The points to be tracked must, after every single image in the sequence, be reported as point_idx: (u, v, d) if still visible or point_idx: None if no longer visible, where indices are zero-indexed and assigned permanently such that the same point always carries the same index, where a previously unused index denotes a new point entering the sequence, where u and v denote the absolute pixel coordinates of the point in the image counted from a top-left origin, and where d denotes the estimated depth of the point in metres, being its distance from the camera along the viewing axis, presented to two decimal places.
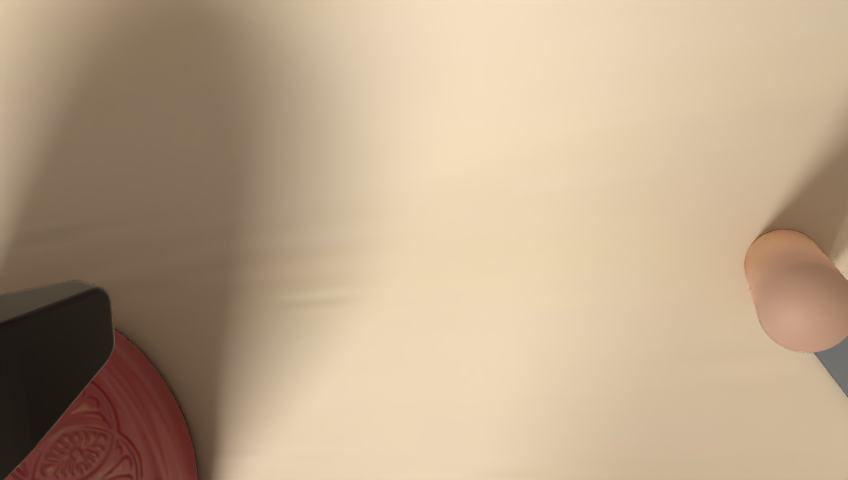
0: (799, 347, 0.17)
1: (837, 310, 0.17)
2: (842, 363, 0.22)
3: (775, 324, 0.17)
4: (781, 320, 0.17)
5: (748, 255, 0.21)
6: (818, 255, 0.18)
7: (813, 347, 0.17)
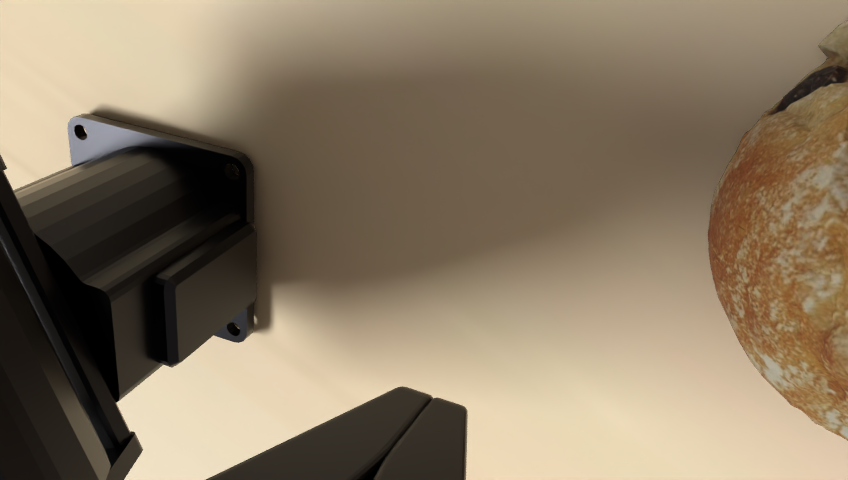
0: None
1: None
2: None
3: None
4: None
5: None
6: None
7: None
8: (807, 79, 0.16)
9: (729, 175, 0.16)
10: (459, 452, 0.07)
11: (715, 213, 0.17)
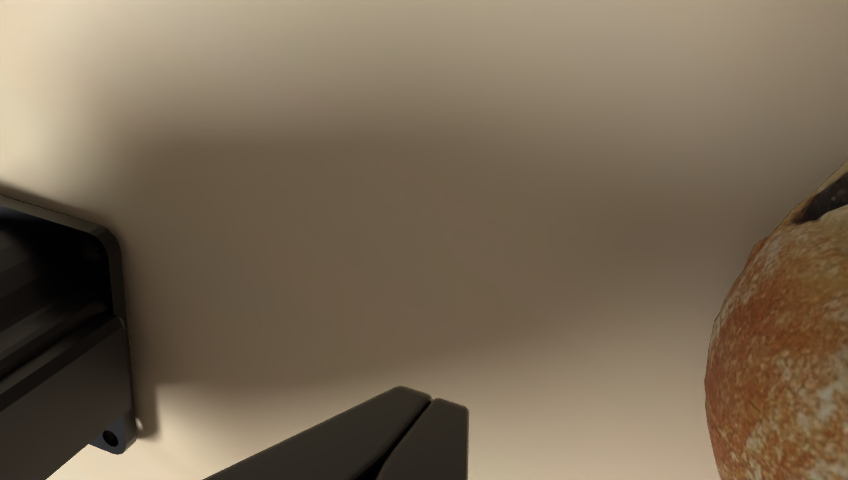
0: None
1: None
2: None
3: None
4: None
5: None
6: None
7: None
8: None
9: (735, 312, 0.11)
10: (461, 453, 0.07)
11: (714, 364, 0.11)
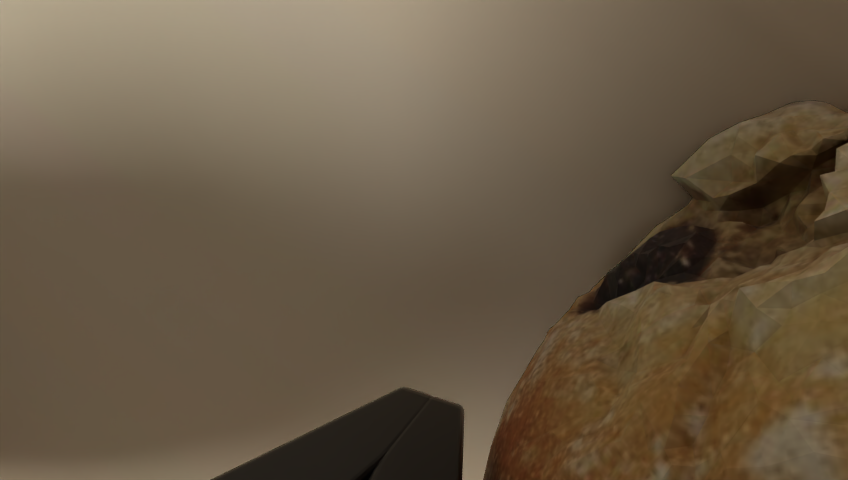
0: None
1: None
2: None
3: None
4: None
5: None
6: None
7: None
8: (642, 250, 0.08)
9: (499, 430, 0.08)
10: (456, 451, 0.08)
11: None
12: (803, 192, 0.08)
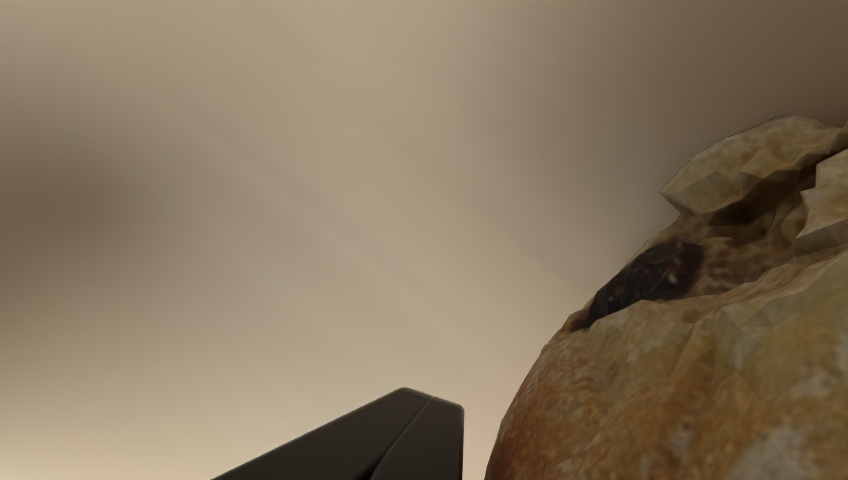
0: None
1: None
2: None
3: None
4: None
5: None
6: None
7: None
8: (630, 268, 0.08)
9: (494, 449, 0.08)
10: (455, 451, 0.08)
11: None
12: (789, 206, 0.08)
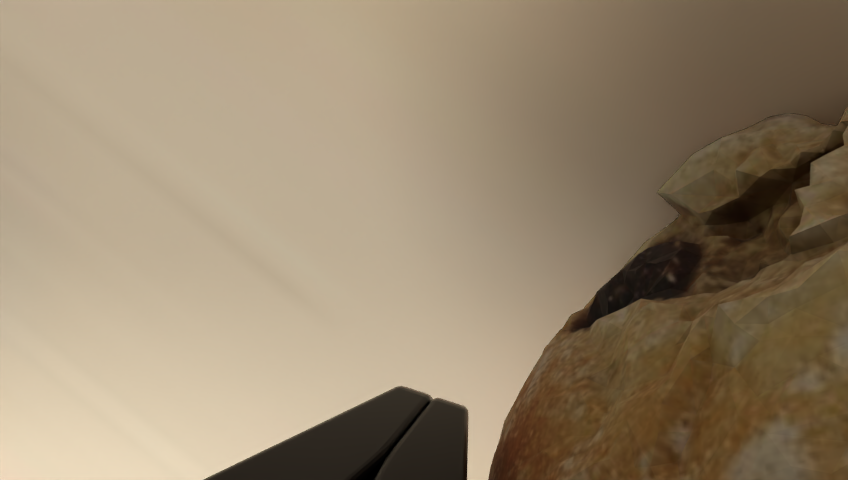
0: None
1: None
2: None
3: None
4: None
5: None
6: None
7: None
8: (630, 267, 0.08)
9: (498, 449, 0.09)
10: (460, 452, 0.07)
11: None
12: (785, 204, 0.08)
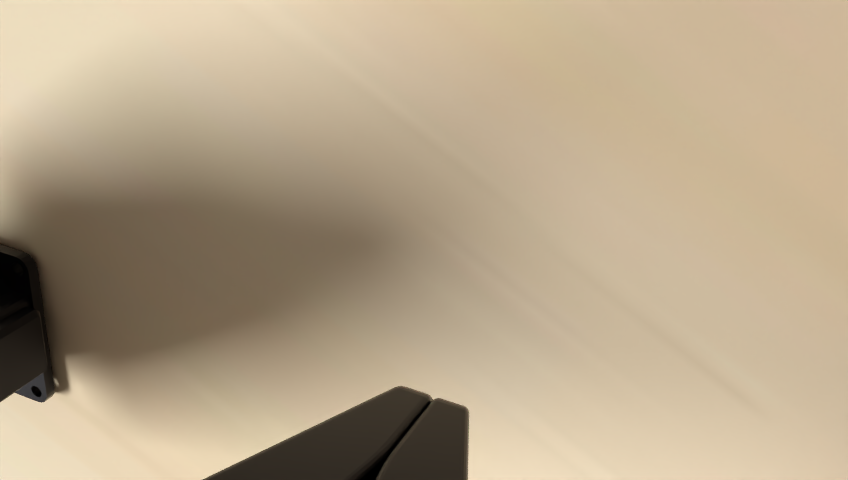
0: None
1: None
2: None
3: None
4: None
5: None
6: None
7: None
8: None
9: None
10: (461, 452, 0.07)
11: None
12: None
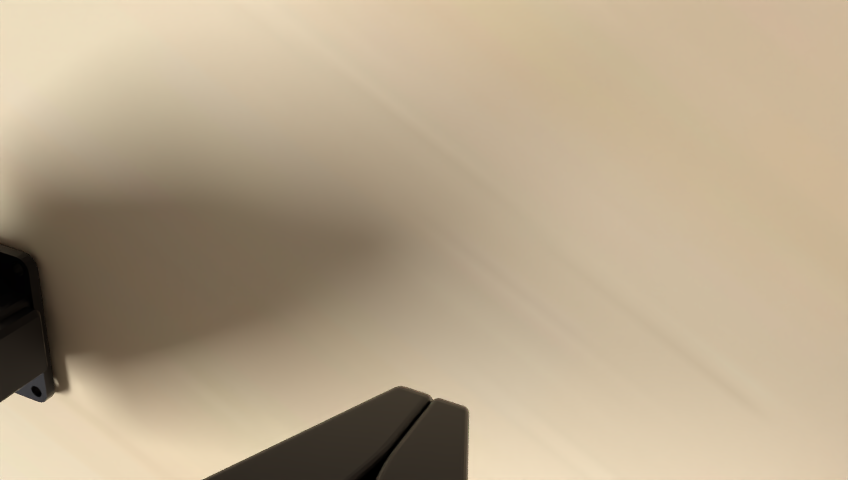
0: None
1: None
2: None
3: None
4: None
5: None
6: None
7: None
8: None
9: None
10: (461, 452, 0.07)
11: None
12: None
